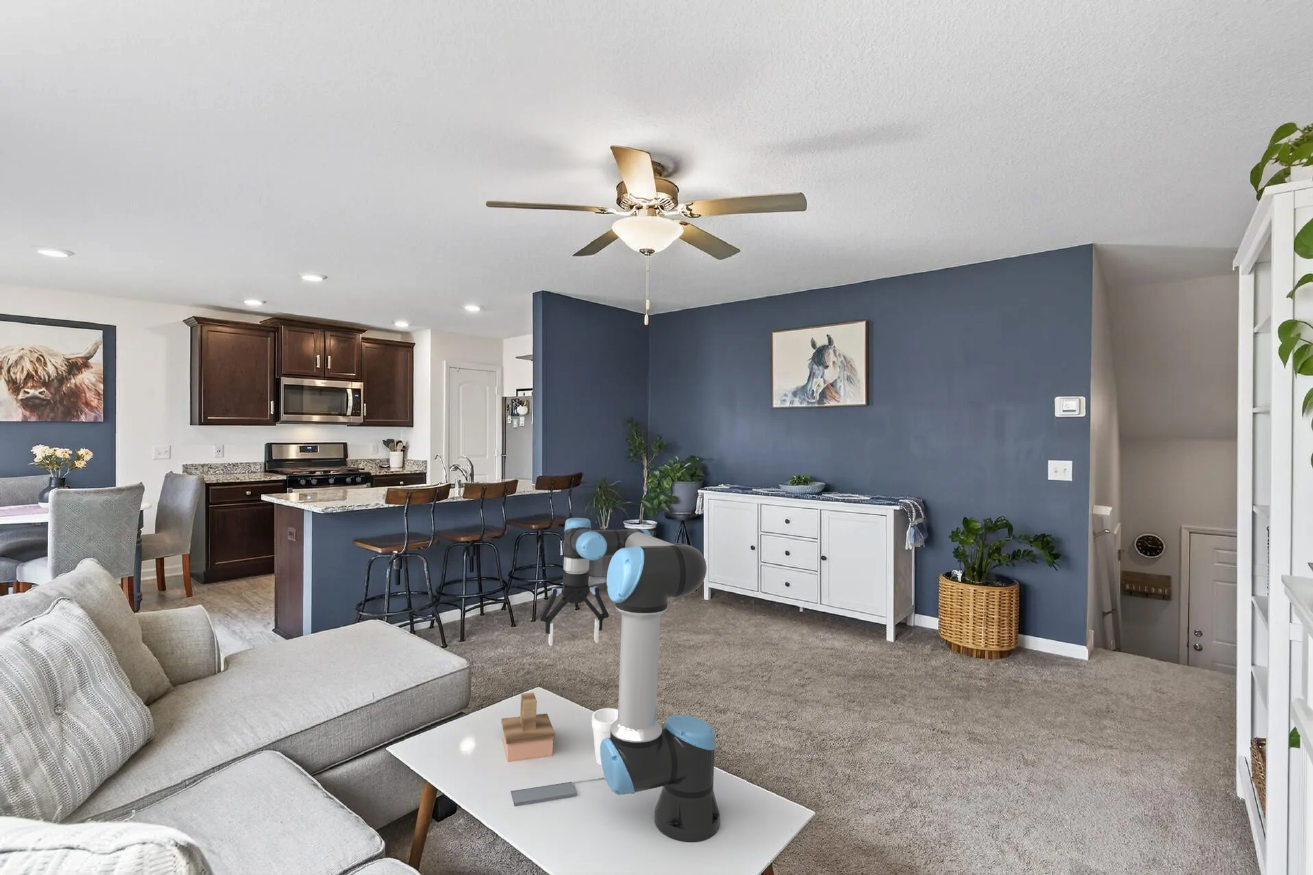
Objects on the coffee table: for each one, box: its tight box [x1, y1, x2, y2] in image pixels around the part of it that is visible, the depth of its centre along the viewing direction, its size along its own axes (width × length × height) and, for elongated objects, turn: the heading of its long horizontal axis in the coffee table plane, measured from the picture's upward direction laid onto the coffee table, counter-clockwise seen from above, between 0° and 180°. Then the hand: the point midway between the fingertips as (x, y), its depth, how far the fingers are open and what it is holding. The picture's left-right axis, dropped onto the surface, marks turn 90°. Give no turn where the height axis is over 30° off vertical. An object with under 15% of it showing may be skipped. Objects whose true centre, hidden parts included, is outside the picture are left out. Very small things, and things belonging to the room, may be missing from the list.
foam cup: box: [591, 707, 618, 766], centre depth 172 cm, size 10×9×13 cm
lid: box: [500, 692, 556, 744], centre depth 176 cm, size 13×13×9 cm
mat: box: [510, 781, 577, 807], centre depth 161 cm, size 17×15×1 cm
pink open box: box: [502, 731, 554, 763], centre depth 176 cm, size 12×12×6 cm
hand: (573, 643), depth 186 cm, fingers open, 13 cm apart
